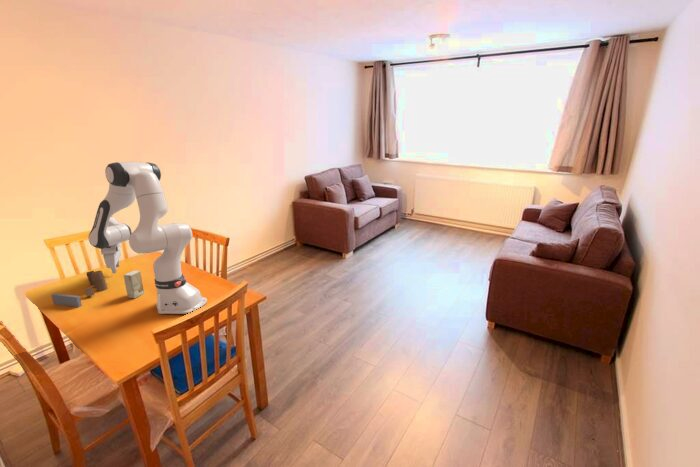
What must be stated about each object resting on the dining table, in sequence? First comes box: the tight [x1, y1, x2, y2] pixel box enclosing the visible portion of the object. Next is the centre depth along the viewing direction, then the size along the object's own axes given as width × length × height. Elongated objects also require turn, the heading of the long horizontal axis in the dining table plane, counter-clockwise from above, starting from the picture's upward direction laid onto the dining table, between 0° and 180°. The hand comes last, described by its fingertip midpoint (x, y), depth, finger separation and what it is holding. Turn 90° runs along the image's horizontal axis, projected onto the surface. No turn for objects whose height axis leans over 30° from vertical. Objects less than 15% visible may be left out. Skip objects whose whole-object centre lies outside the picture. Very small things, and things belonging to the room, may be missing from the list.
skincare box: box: [123, 270, 145, 299], centre depth 166 cm, size 6×4×12 cm
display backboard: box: [51, 292, 83, 308], centre depth 157 cm, size 14×2×5 cm, turn 79°
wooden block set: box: [83, 270, 108, 298], centre depth 171 cm, size 18×9×10 cm, turn 38°
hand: (116, 269), depth 183 cm, fingers open, 8 cm apart
